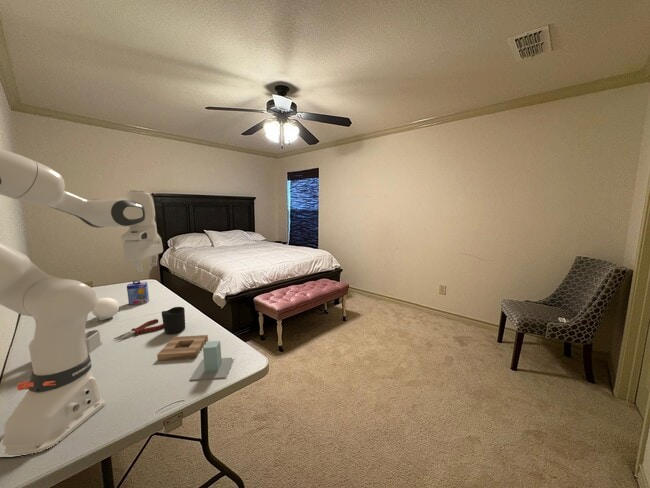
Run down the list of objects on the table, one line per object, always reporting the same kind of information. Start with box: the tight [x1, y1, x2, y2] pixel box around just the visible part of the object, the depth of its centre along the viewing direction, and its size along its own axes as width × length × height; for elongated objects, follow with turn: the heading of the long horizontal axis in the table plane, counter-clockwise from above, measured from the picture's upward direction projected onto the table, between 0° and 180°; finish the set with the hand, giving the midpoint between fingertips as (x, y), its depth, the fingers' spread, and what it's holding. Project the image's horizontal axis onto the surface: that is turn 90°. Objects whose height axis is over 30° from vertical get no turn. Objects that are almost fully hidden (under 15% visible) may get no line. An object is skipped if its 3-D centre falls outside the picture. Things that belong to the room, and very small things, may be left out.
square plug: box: [202, 340, 222, 372], centre depth 95 cm, size 4×4×9 cm
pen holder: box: [161, 306, 186, 335], centre depth 126 cm, size 9×9×10 cm
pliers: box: [113, 318, 164, 341], centre depth 125 cm, size 12×20×3 cm, turn 147°
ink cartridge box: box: [126, 280, 150, 306], centre depth 164 cm, size 10×6×14 cm, turn 115°
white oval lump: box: [91, 297, 120, 321], centre depth 142 cm, size 12×12×15 cm
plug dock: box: [156, 334, 209, 362], centre depth 108 cm, size 14×14×2 cm
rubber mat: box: [189, 357, 234, 382], centre depth 95 cm, size 12×12×1 cm
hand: (147, 268), depth 105 cm, fingers open, 8 cm apart
